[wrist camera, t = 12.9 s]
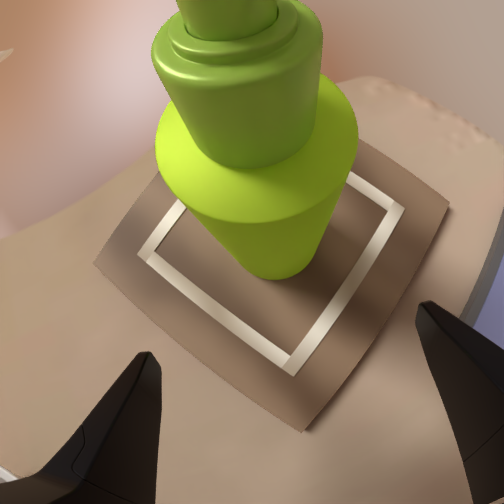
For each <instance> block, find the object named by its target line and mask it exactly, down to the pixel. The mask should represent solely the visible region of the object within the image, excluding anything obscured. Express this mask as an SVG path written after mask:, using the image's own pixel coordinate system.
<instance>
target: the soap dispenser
mask: <svg viewBox="0 0 504 504" xmlns="http://www.w3.org/2000/svg"><path fill="white" fill-rule="evenodd" d="M176 2H177V5H178V7H179V10H180V11H179V12H177V13H176V14H175V15H173V16H172V17H171V18H170V19H169V20H168V21H167V22H166V23H165V24H164V25H163V26H162V27H161V28H160V30H159V31H158V33H157V35H156V36H155V39H154V41H153V44H152V48H151V58H152V62H153V65H154V68H155V70H156V72H157V74H158V76H159V78H160V80H161V81H162V83H163V85H164V87H165V89H166V91H167V92H168V94H169V96H170V98H171V101H170V102H169V104H168V105H167V107H166V109H165V111H164V113H163V115H162V117H161V119H160V122H159V125H158V128H157V132H156V139H155V154H156V161H157V165H158V168H159V171H160V173H161V176H162V178H163V180H164V181H165V183H166V185H167V186H168V187H169V189H170V190H171V191H172V193H173V194H174V195H175V196H176V197H177V198H178V199H179V200H180V201H181V202H182V203H183V204H184V206H185V207H186V208H187V209H188V210H189V211H190V212H191V213H192V214H193V215H194V216H195V217H196V218H197V219H198V220H199V221H200V223H201V224H202V225H203V226H204V227H205V228H206V229H207V230H208V231H209V232H210V233H211V234H212V235H213V236H214V237H215V238H216V239H217V240H218V242H219V243H220V244H221V245H222V246H223V247H224V248H225V249H226V250H227V251H228V252H229V253H230V254H231V255H232V256H233V257H234V258H235V259H236V260H237V261H238V262H239V264H240V265H241V266H242V267H243V268H244V269H246V270H247V271H248V272H249V273H251V274H253V275H255V276H257V277H259V278H263V279H267V280H281V279H286V278H289V277H292V276H294V275H296V274H297V273H299V272H300V271H302V270H303V269H304V268H305V267H306V266H307V265H308V264H309V262H310V261H311V260H312V258H313V256H314V254H315V252H316V250H317V247H318V245H319V243H320V241H321V238H322V236H323V234H324V232H325V229H326V227H327V225H328V223H329V220H330V218H331V216H332V213H333V211H334V209H335V206H336V204H337V202H338V199H339V197H340V195H341V192H342V190H343V187H344V185H345V182H346V180H347V178H348V175H349V173H350V170H351V168H352V165H353V163H354V160H355V157H356V153H357V148H358V126H357V121H356V117H355V114H354V111H353V109H352V107H351V105H350V103H349V101H348V100H347V98H346V97H345V95H344V94H343V92H342V91H341V90H340V89H339V88H338V87H337V86H336V85H335V84H334V83H333V82H332V81H331V80H330V79H328V78H327V77H326V76H324V75H323V74H321V73H320V68H321V57H322V45H323V32H322V28H321V23H320V21H319V19H318V18H317V16H316V15H315V13H314V12H313V11H312V10H310V8H308V7H307V6H306V5H304V4H303V3H301V2H300V1H298V0H176Z"/></svg>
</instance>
